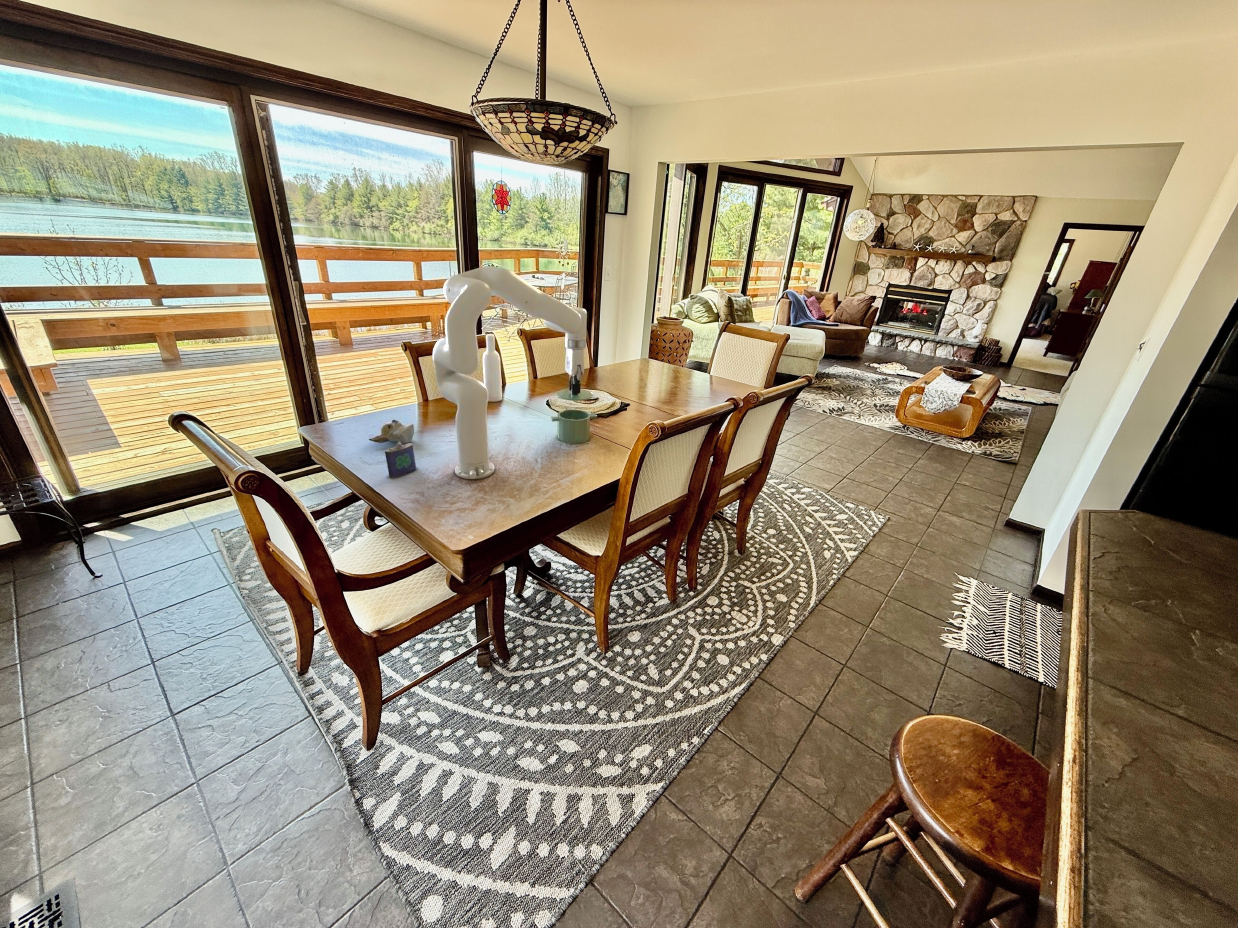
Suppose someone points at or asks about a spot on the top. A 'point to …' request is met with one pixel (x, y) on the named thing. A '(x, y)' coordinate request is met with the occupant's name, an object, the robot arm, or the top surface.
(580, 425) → the pot
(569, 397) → the lid
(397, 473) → the flask
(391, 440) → the ceramic sculpture
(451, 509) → the top surface
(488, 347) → the bottle
